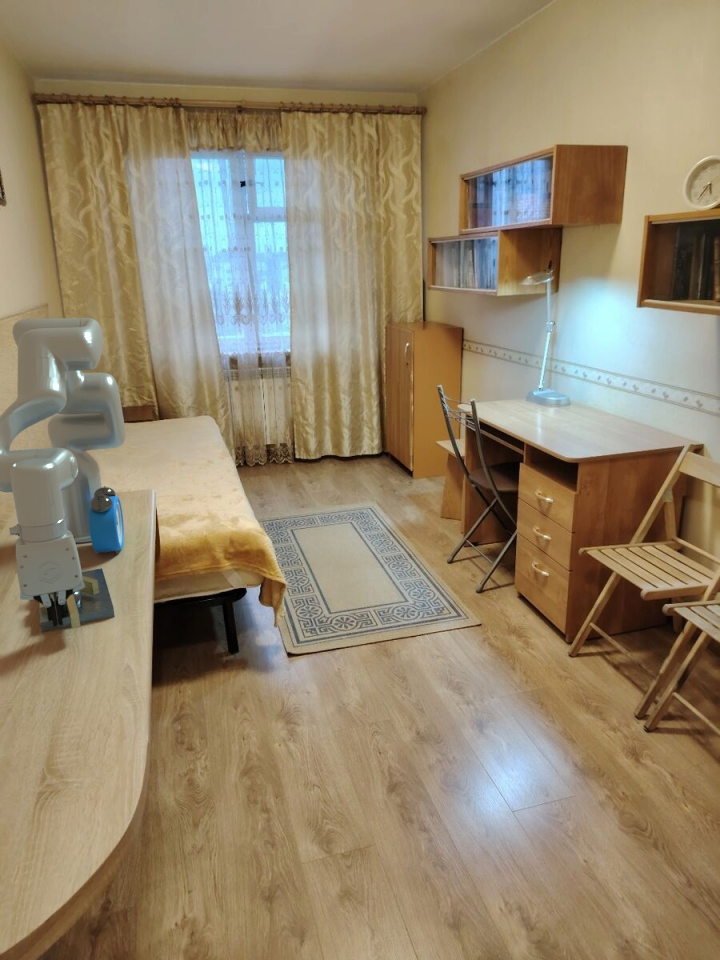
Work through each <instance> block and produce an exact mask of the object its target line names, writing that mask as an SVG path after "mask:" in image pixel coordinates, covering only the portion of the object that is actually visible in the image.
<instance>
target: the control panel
mask: <svg viewBox="0 0 720 960" xmlns="http://www.w3.org/2000/svg"><path fill="white" fill-rule="evenodd" d="M81 572H82V576H85V577H89V578H93V579H96V580H98V588H99V593H97V594H95V595H91V594H87V593H83V592H81V597H82V606H81V607H79V608H78V613H79V620H80V625H82V624H87V623H92V622H96V621H101V620H105V619H110V618H115V610H114V608H115V607H114V604H113V601H112V597H111V595H110V591H109V587H108V584H107V580H106V577H105V573H104V570H103V568H97V569H92V570H85V571H81ZM49 594H50V597H51V598H52V599H53V601H54V602H55V600H56V592H55V593H49ZM38 608H39V611H38V613H39V623H40V630H41V633H45V632H49V631H54V630H58V629H59V630H60V629H64V628H68V627H72V625H71V621H70V618H69V614H68V611H65V612H66V618H62V621H63V625H59V624H58V625H57V626H53V620H52V621H48V615H47V609H46V607H45V606H44V605H43V604H41V603H39V602H38ZM55 608H56V604H55ZM56 614H57V611H56ZM57 622H58V618H57Z"/></svg>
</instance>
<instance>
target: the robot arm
mask: <svg viewBox="0 0 720 960" xmlns="http://www.w3.org/2000/svg"><path fill="white" fill-rule="evenodd" d="M12 337H13V340H14V342H15V344H16V346H17V398H16V400H15V401H14V402H12V403H11V404H10V405H9V406H8V407H7V408H6V409H5V410H4V411H3V412H2V414H1V415H0V492H2V493H12V496H13V502H14V507H15V508H14V509H15V512H16V519H17V523H16V525H14V526H12V527H9V535H10V536H14V535H15V536H17V537H18V538H17V539H16V542H15V563H16V571H17V572H16V573H17V581H18V586H19V590H20V593H19V598H20V600H22V601H27V600H28V601H29V600H30V601H32V600H34V601H35V602H38V604H39V603H41V604H43V605H44V606H45V607H46V609H47V615H48V621H52V620H53V626H57V625H58V624H59V625H63V621H62V618H66V612H65V606H64V604H65V601H66V600H67V599H68V597H69V596H70V595H71V594H72V593H73V592H76V591H78V590H81V589H83V588H84V587H85V584H84V581H83V579H82V572H83V571H82V567H81V560H80V557H79V552H78V551H79V550H78V548H77V544H76V543H89V542H91V536H90V527H89V507H90V501H91V499H92V498H94V493H95V491H96V490H97V489H99V488H102V486H103V485H102V480H101V479H102V478H101V471H100V466H99V464H98V462H97V460H96V459H95V458H94V457H93V456H92V455H91V454H90V453H89V452H88V451H95V450H96V451H97V450H109V449H116V448H120V447H121V446H122V445H123V444H124V443H125V440H126V427H125V420H124V419H125V418H124V414H123V407H122V400H121V395H120V394H121V393H120V390H119V386H118V383H117V380H116V379H115V378H114V376H112V374H110V373H107V372H83V371H92V370H94V369H96V368H97V367H98V366H99V364H100V360H101V356H102V353H103V350H104V345H105V344H104V343H105V342H104V341H105V340H104V333H103V330H102V327H101V325H100V323H99V322H98V321H97V320H96V319H94V318H92V317H61V318H59V317H58V318H57V317H56V318H55V317H50V318H49V317H47V318H46V317H45V318H43V317H42V318H41V317H40V318H23V319H20V320H17V321H16V322H15V323H14V324H13V326H12ZM48 418H50V419H49V420H48V423H47V433H48V438H49V441H50V444H51V446H52V447H48V448H47V447H46V448H29V449H27V448H26V449H17V450H16V449H13V450H10V448H11V445H12V444H13V443H12V442H13V441H14V440H15V439H16V437H17V436H18V435H19V434H20V433H22V432H23V431H24V430H26V429H28V428H30V427H32V426H34V425H35V424H38V423H39V422H42V421H44V420H46V419H48ZM55 592H58V596H57V597H56V600H55V602H54V601H53V599H52V598H51V597H50V594H49V593H55ZM55 604H56V608H55ZM56 611H57V614H56ZM57 618H58V622H57Z"/></svg>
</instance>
